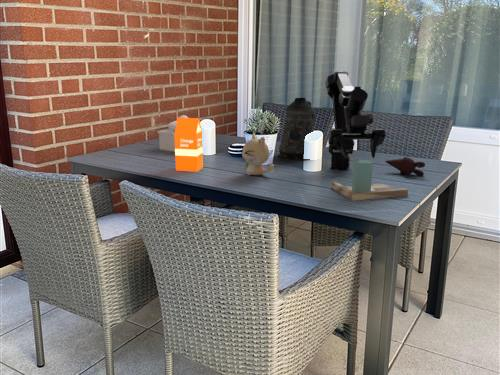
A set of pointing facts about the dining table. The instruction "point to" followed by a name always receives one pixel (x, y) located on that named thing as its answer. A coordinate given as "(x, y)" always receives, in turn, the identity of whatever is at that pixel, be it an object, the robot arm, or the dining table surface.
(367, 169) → the block
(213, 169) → the dining table surface
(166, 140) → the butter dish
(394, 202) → the dining table surface
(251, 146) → the kitten
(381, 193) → the tan tray
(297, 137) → the dark translucent jar
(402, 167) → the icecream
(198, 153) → the orange juice
